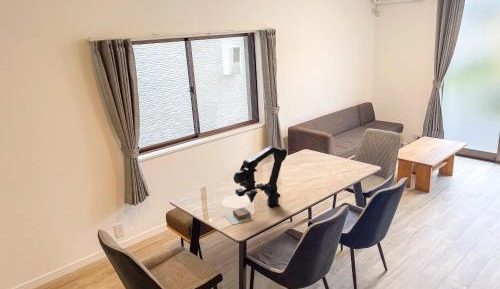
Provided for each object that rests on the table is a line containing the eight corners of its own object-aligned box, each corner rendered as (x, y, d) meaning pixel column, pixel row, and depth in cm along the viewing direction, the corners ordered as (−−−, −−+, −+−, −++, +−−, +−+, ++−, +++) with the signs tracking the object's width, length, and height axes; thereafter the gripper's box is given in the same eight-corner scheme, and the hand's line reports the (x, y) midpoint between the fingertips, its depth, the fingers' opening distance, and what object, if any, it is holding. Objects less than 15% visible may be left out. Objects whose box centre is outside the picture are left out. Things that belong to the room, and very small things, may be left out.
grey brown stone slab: (244, 207, 233) (232, 210, 230) (250, 212, 225) (238, 216, 222) (244, 211, 234) (233, 214, 231) (250, 217, 226) (239, 220, 223)
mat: (241, 210, 236) (241, 210, 235) (251, 219, 223) (250, 219, 223) (224, 215, 231) (224, 215, 231) (233, 225, 219) (233, 224, 219)
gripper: (257, 172, 235) (258, 194, 240) (231, 178, 228) (232, 201, 232) (265, 177, 225) (266, 200, 230) (238, 184, 218) (240, 207, 222)
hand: (251, 202), depth 229 cm, fingers closed
